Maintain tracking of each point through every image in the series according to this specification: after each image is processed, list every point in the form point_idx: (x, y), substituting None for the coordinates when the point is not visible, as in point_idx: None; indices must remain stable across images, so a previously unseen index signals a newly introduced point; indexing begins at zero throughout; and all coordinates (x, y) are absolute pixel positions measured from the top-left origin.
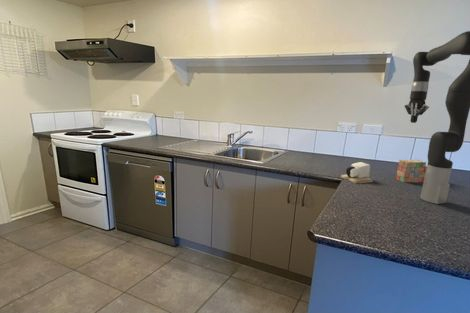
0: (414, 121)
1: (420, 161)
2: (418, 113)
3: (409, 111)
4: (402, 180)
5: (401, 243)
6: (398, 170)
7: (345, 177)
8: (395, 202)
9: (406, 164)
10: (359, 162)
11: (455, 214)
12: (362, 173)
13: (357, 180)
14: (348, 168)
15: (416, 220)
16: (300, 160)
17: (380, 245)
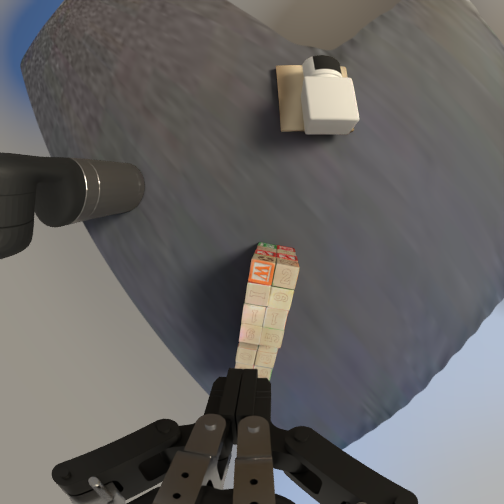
0: (221, 378)
1: (253, 331)
2: (156, 431)
3: (302, 456)
4: (263, 244)
5: (58, 23)
6: (290, 254)
7: None
8: (134, 83)
9: (253, 256)
10: (354, 109)
11: None
12: (302, 97)
13: (284, 75)
14: (327, 56)
15: (75, 73)
16: (499, 95)
17: (67, 2)
